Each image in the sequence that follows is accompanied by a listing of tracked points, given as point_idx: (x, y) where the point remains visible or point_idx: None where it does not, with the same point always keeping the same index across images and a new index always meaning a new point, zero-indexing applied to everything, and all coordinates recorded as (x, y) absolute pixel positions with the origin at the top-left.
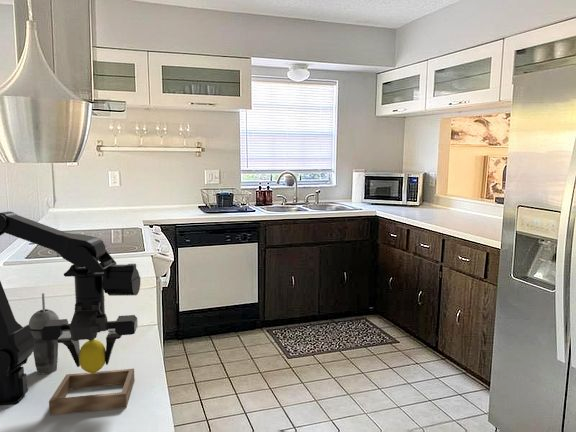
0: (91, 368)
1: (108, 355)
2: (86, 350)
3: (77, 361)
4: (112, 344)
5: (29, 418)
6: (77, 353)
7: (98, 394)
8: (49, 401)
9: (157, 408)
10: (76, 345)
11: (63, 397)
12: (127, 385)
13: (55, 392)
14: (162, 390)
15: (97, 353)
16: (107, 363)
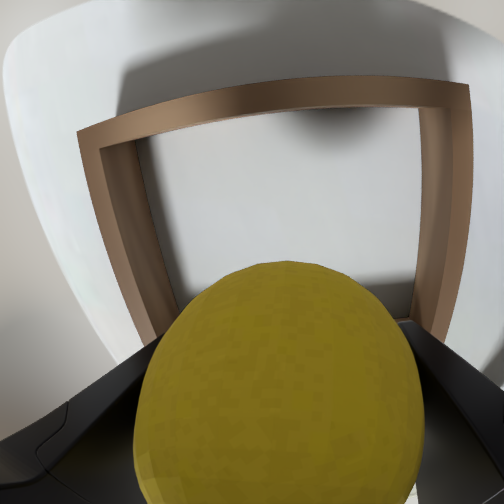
0: (268, 264)
1: (110, 377)
2: (323, 458)
3: (423, 349)
4: (9, 439)
5: (491, 91)
6: (442, 421)
7: (211, 119)
8: (465, 85)
9: (30, 131)
10: (462, 502)
11: (425, 227)
12: (102, 223)
13: (468, 187)
14: (58, 255)
15: (159, 395)
16: (161, 335)
